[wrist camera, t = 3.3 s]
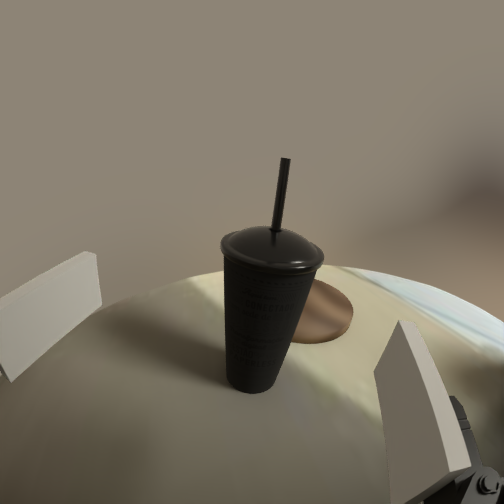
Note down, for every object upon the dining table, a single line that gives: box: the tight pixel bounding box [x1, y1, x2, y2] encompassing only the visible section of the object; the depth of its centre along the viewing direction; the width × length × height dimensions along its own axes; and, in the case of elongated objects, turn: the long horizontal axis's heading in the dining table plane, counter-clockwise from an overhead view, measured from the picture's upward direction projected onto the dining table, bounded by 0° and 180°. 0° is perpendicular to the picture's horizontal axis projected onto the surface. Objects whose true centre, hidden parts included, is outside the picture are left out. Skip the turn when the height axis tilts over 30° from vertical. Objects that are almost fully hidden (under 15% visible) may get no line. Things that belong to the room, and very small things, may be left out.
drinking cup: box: [220, 158, 324, 394], centre depth 21 cm, size 8×8×20 cm
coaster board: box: [291, 279, 353, 344], centre depth 38 cm, size 16×16×2 cm
